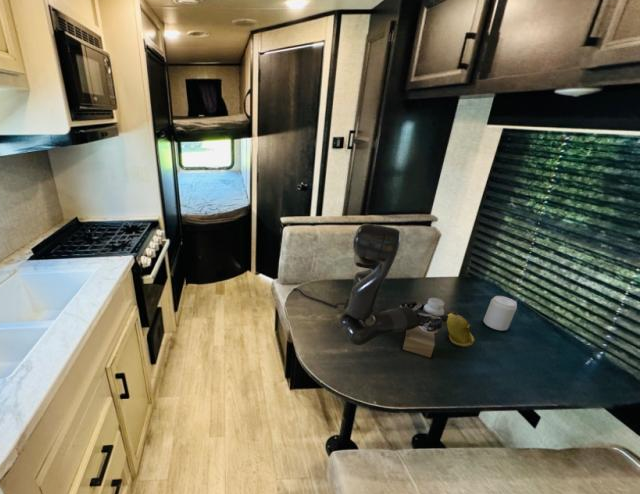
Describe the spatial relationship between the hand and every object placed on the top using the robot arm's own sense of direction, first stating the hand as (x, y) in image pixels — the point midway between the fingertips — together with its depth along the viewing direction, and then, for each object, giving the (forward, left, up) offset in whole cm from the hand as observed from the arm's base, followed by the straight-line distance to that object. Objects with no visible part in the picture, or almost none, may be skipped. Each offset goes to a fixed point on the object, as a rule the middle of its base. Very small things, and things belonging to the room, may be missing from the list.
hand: (438, 311), depth 107 cm
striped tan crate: (-3, +7, -18) cm, 19 cm away
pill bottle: (-2, -2, -7) cm, 7 cm away
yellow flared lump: (+10, +10, -18) cm, 23 cm away
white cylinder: (+25, +30, -18) cm, 43 cm away
